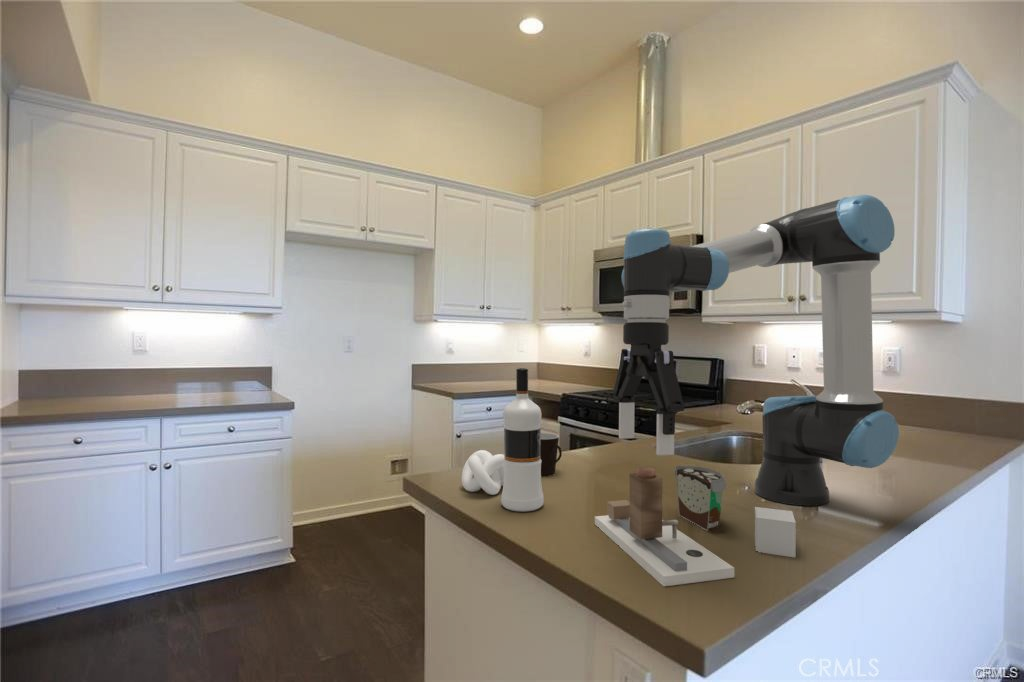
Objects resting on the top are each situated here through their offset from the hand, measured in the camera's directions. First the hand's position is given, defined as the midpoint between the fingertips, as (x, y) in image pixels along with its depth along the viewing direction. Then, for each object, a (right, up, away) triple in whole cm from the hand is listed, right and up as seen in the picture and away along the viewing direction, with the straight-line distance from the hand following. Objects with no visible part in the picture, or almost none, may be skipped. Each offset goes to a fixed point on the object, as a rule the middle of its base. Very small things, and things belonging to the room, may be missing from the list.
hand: (644, 445), depth 89 cm
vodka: (-20, -18, +24) cm, 36 cm away
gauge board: (+3, -18, +2) cm, 18 cm away
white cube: (+23, -18, +2) cm, 30 cm away
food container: (+16, -18, +14) cm, 28 cm away
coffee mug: (-14, -18, +49) cm, 54 cm away
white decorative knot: (-28, -18, +36) cm, 49 cm away
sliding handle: (+2, -16, +1) cm, 16 cm away
